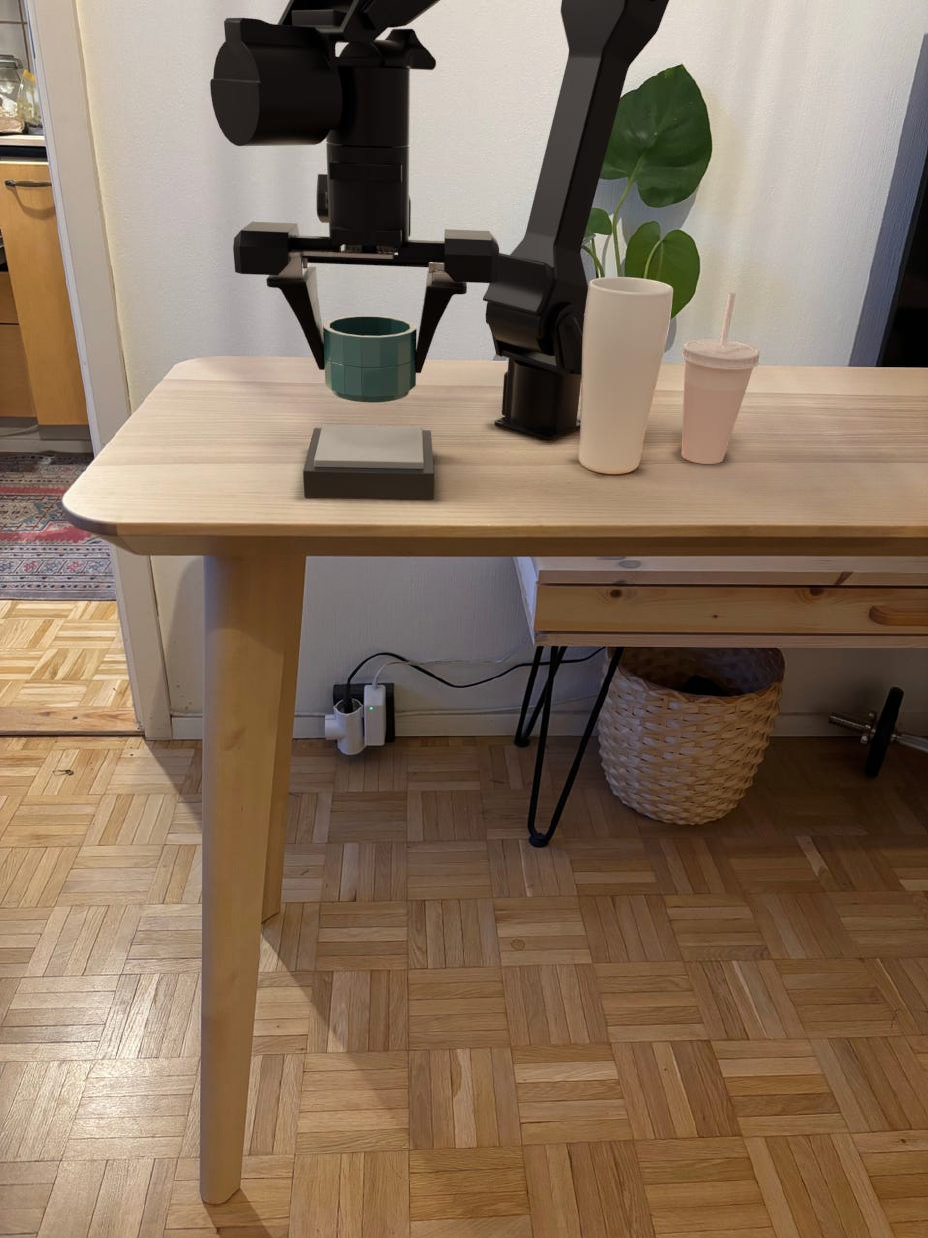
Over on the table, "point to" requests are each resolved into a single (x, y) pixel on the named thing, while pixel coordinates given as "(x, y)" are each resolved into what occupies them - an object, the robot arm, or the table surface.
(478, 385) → the table surface
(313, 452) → the scale
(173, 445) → the table surface
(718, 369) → the smoothie
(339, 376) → the bowl
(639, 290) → the white tumbler
